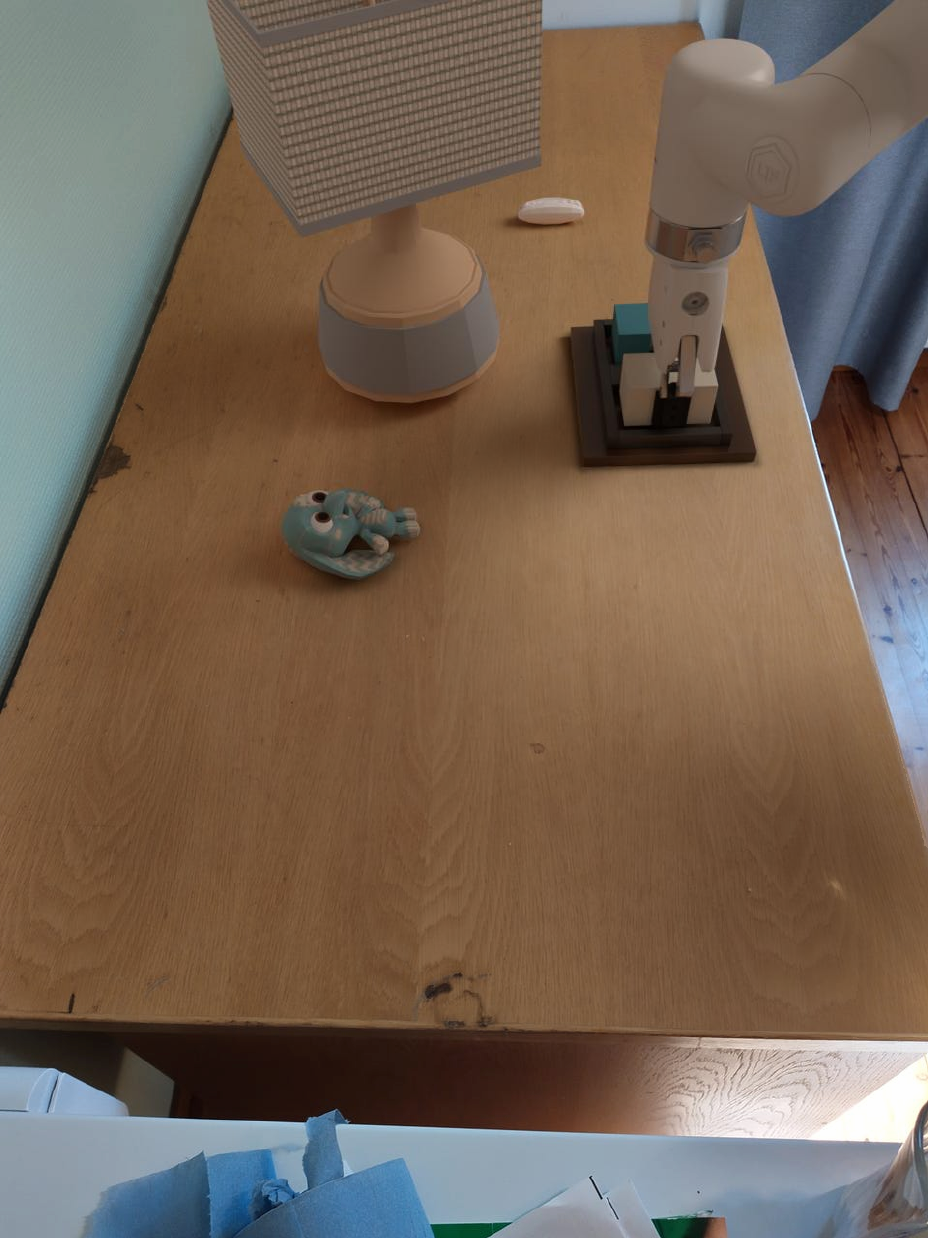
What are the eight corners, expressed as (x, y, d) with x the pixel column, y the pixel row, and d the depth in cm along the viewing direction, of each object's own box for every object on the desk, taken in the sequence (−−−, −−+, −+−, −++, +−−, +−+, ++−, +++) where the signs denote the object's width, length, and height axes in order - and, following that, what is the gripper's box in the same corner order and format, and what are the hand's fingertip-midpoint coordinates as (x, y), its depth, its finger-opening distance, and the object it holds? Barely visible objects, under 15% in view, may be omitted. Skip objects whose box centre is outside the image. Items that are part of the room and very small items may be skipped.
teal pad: (687, 338, 93) (694, 300, 89) (694, 369, 90) (701, 331, 86) (610, 341, 93) (614, 303, 89) (614, 372, 90) (618, 334, 87)
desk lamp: (465, 284, 103) (442, -115, 73) (544, 377, 92) (555, -45, 63) (287, 342, 98) (186, -60, 68) (349, 447, 87) (261, 26, 58)
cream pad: (702, 388, 86) (710, 350, 83) (709, 423, 83) (718, 385, 80) (619, 391, 87) (623, 353, 83) (624, 426, 84) (628, 388, 80)
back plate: (720, 330, 95) (724, 308, 93) (754, 461, 83) (760, 439, 81) (570, 336, 96) (571, 314, 94) (582, 466, 84) (584, 445, 82)
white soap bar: (583, 226, 108) (585, 204, 106) (518, 228, 109) (518, 206, 107) (582, 213, 110) (584, 190, 108) (518, 215, 111) (518, 193, 108)
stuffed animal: (434, 533, 73) (285, 542, 70) (425, 589, 78) (287, 600, 76) (412, 446, 79) (274, 451, 76) (405, 503, 85) (277, 510, 82)
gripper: (763, 286, 65) (718, 467, 80) (725, 167, 75) (691, 347, 90) (659, 290, 65) (633, 469, 80) (635, 171, 75) (616, 350, 90)
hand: (664, 403), depth 85 cm, fingers closed on cream pad, 4 cm apart
